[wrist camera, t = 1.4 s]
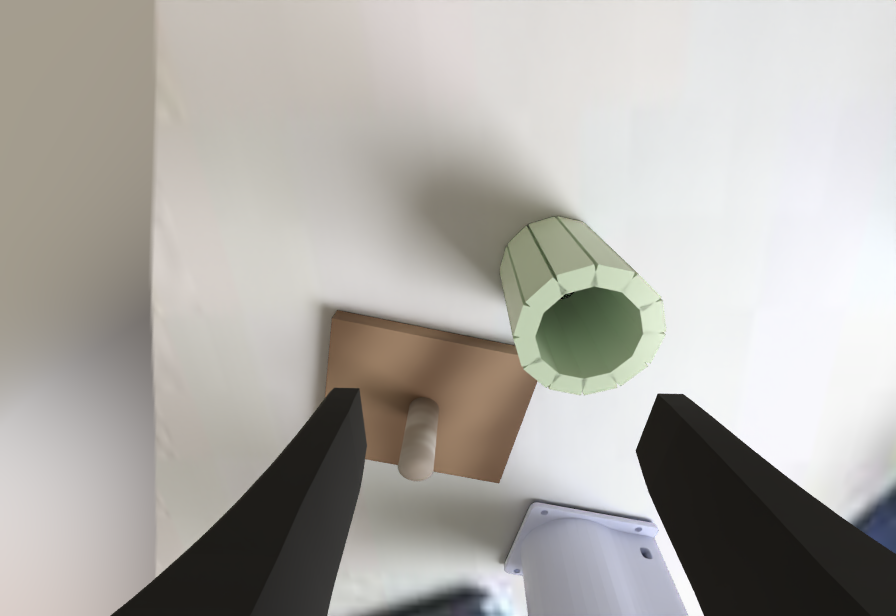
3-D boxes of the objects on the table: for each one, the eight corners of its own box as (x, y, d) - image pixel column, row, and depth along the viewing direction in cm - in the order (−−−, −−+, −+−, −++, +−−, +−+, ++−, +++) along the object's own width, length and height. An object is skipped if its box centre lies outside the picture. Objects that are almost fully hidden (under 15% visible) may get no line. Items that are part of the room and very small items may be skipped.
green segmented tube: (621, 230, 20) (691, 284, 14) (583, 323, 23) (629, 404, 16) (517, 207, 20) (540, 252, 14) (490, 303, 22) (499, 379, 16)
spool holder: (542, 351, 24) (562, 415, 19) (497, 471, 28) (504, 549, 23) (337, 310, 23) (301, 365, 18) (324, 439, 27) (293, 512, 22)
